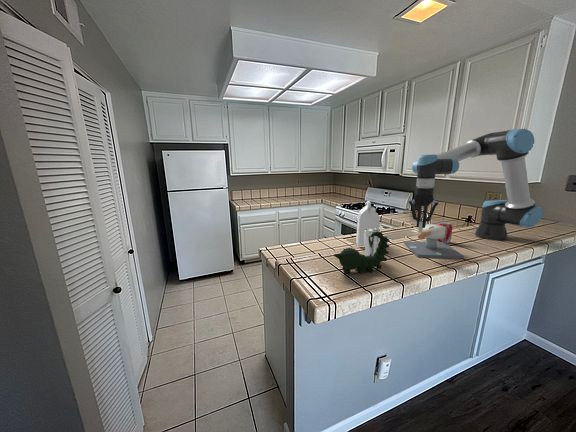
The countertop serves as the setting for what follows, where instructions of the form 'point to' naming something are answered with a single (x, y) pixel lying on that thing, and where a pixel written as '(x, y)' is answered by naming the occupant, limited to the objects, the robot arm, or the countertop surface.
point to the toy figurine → (356, 260)
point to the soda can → (446, 232)
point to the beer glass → (370, 241)
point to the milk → (366, 222)
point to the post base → (432, 249)
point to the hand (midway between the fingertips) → (420, 233)
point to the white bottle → (432, 232)
